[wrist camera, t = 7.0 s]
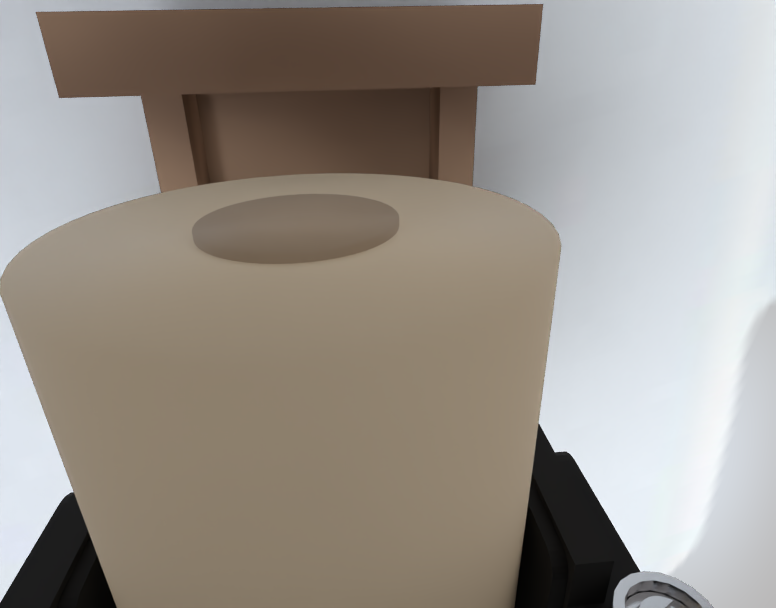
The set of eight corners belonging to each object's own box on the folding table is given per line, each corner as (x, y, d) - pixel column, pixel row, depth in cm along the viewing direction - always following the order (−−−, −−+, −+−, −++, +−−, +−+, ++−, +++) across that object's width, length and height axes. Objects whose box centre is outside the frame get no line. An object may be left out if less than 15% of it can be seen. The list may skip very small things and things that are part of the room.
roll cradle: (154, 25, 18) (36, 12, 11) (460, 20, 19) (543, 4, 11) (227, 412, 25) (185, 561, 18) (446, 395, 26) (492, 531, 18)
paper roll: (120, 175, 9) (-203, 380, 3) (478, 160, 9) (695, 314, 4) (225, 615, 14) (162, 987, 8) (455, 588, 14) (537, 919, 9)
